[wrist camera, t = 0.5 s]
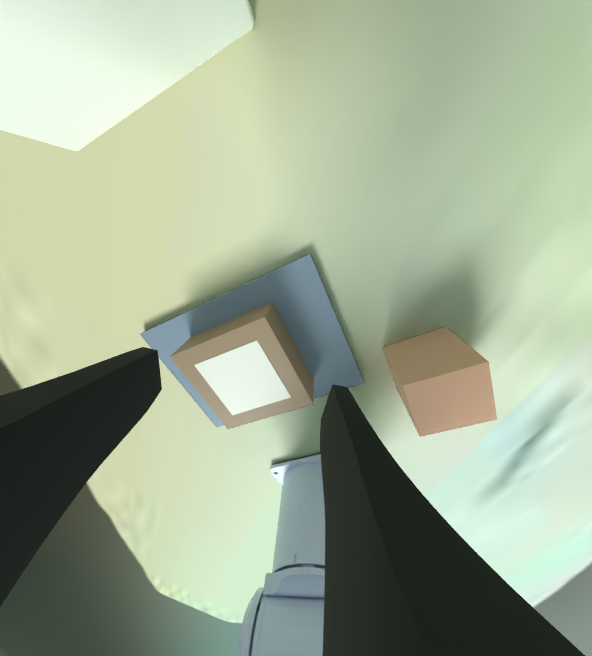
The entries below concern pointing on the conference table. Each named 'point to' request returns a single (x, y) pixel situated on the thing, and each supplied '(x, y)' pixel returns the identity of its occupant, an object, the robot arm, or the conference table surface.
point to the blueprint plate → (259, 347)
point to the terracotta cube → (441, 381)
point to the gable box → (101, 59)
